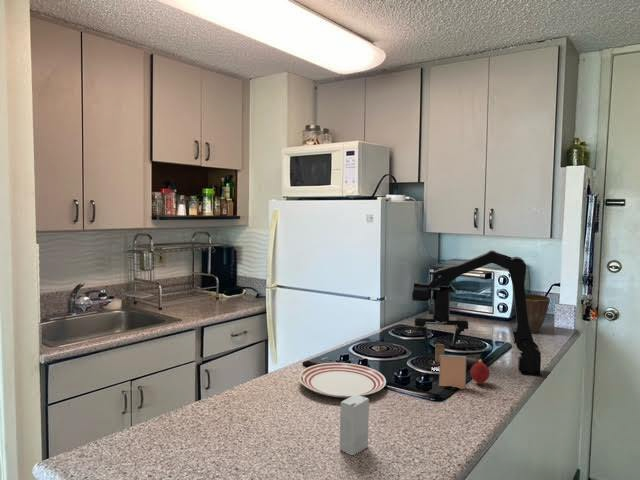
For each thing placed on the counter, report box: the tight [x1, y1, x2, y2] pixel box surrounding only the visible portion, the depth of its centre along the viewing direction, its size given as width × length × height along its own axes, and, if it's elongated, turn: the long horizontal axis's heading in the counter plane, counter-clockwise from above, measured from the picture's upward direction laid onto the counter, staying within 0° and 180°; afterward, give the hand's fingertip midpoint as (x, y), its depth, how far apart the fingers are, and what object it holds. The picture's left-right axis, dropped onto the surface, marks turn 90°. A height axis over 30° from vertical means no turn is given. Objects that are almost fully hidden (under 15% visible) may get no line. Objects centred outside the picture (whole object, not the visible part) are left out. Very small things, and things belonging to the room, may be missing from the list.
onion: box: [470, 359, 491, 385], centre depth 154 cm, size 6×6×8 cm
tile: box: [438, 354, 468, 390], centre depth 151 cm, size 2×8×10 cm, turn 78°
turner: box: [431, 343, 446, 371], centre depth 170 cm, size 15×6×6 cm, turn 168°
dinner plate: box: [298, 362, 387, 399], centre depth 152 cm, size 27×27×3 cm
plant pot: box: [514, 293, 551, 334], centre depth 218 cm, size 15×15×16 cm
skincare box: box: [339, 395, 370, 456], centre depth 112 cm, size 6×4×12 cm
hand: (440, 345), depth 175 cm, fingers open, 9 cm apart
